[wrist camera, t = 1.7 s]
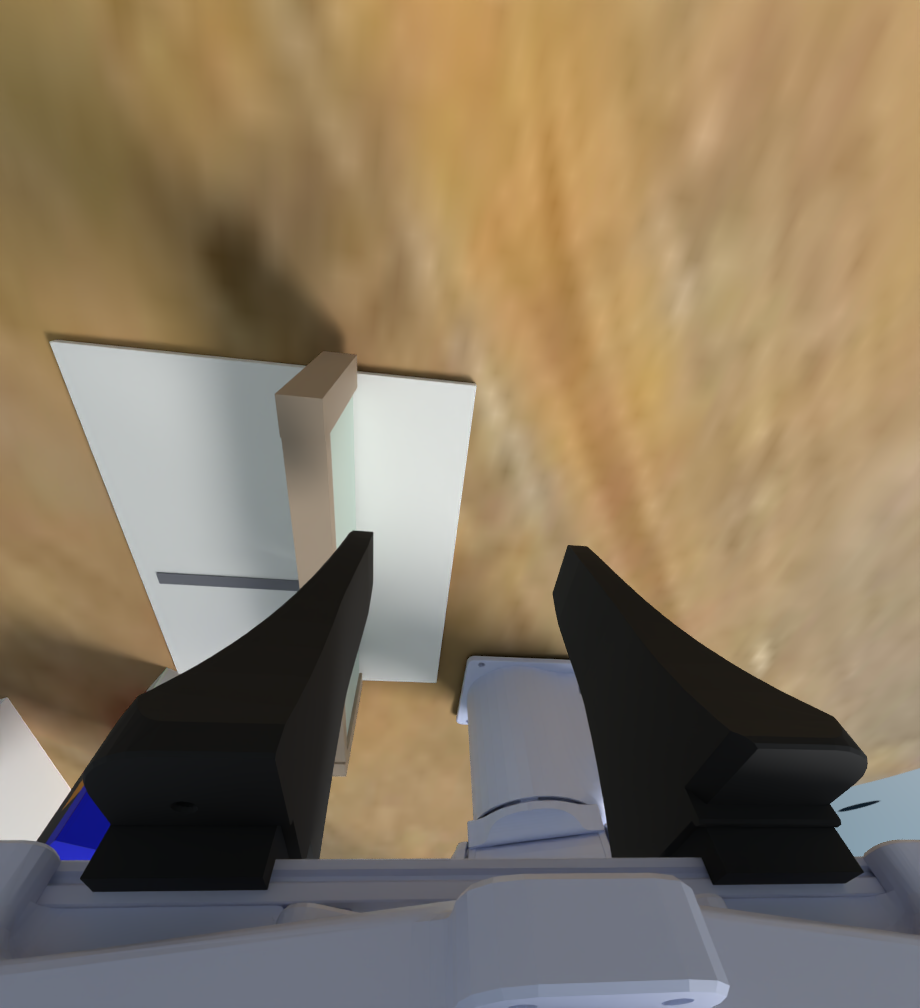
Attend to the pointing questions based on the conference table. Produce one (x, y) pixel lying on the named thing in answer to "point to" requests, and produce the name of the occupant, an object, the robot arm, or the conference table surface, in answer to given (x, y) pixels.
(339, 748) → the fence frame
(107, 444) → the card
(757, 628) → the conference table surface
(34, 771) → the triangle block
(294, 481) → the framed panel
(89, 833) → the puzzle toy
